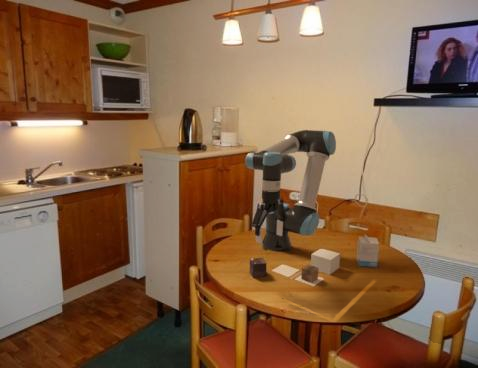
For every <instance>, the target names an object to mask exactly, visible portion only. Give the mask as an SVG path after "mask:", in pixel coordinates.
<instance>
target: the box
mask: <svg viewBox="0 0 478 368" xmlns="http://www.w3.org/2000/svg"><path fill="white" fill-rule="evenodd" d="M249 274H250V276H251V277H252V278H254V279H255V278H257V279H258V278H264V277H266V278H267V262H266V261H265V259H264V258H263V257H256V258H254V257H253V258H249Z"/></svg>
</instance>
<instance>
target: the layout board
mask: <svg viewBox="0 0 478 368" xmlns="http://www.w3.org/2000/svg"><path fill="white" fill-rule="evenodd" d="M300 274H301V275H302V270H301V271H300V272H299V271H298V272H297V273H295V274H294V276H293V275H292V277H290V278H289V279H290V280H293V279H294V278H295V279H294V280H295V281H298V282H301V283H303V284H306V285H309V286H312V287H315V286H317V285H318V284H319V283H321V282H322V281H324V280H325V278H323V277H321V276H318V279H317V280H315V281H314V282H313V283H310V282H308V281H305V280H302V279H301V275H300ZM297 276H298V277H297Z"/></svg>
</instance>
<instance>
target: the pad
mask: <svg viewBox="0 0 478 368" xmlns="http://www.w3.org/2000/svg"><path fill="white" fill-rule="evenodd" d="M299 271H300V269H298V268H295V267H292V266H289V265H286V264H280V265H279V266H277V267H274V268H273V269H272V270H271V272H273V273H277V274H279V275H282V276H284V277H287V278H289V277H290V278H291V276H293V275H295V274H297V273H298V272H299Z"/></svg>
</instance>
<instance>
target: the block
mask: <svg viewBox="0 0 478 368" xmlns="http://www.w3.org/2000/svg"><path fill="white" fill-rule="evenodd" d="M301 271H302V272H301V279H302V280H305V281H308V282H310V283H313V282H314V281H315V280H317V279H318V277H319V271H318V267H315V266H312V265H311V264H309V263H308V264H306V265H305V266H302V268H301Z"/></svg>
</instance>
